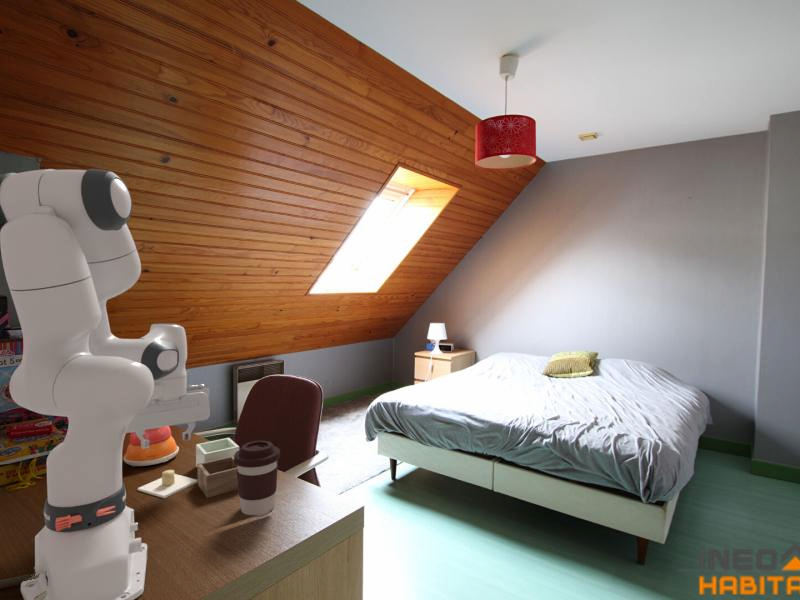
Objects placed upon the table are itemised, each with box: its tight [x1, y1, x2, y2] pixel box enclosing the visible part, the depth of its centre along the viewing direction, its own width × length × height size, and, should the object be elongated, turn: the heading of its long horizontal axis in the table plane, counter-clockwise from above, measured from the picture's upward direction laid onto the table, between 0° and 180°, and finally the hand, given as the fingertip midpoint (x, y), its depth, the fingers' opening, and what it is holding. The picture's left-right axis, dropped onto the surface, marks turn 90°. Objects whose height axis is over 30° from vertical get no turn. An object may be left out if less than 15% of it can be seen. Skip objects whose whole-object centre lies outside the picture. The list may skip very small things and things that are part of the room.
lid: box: [137, 469, 198, 499], centre depth 113 cm, size 10×10×5 cm
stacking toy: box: [123, 426, 180, 467], centre depth 132 cm, size 14×14×20 cm
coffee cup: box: [234, 440, 281, 518], centre depth 102 cm, size 10×10×15 cm
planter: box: [195, 437, 240, 468], centre depth 124 cm, size 9×9×7 cm
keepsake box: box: [196, 456, 238, 499], centre depth 113 cm, size 9×9×6 cm
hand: (166, 443), depth 112 cm, fingers open, 8 cm apart
